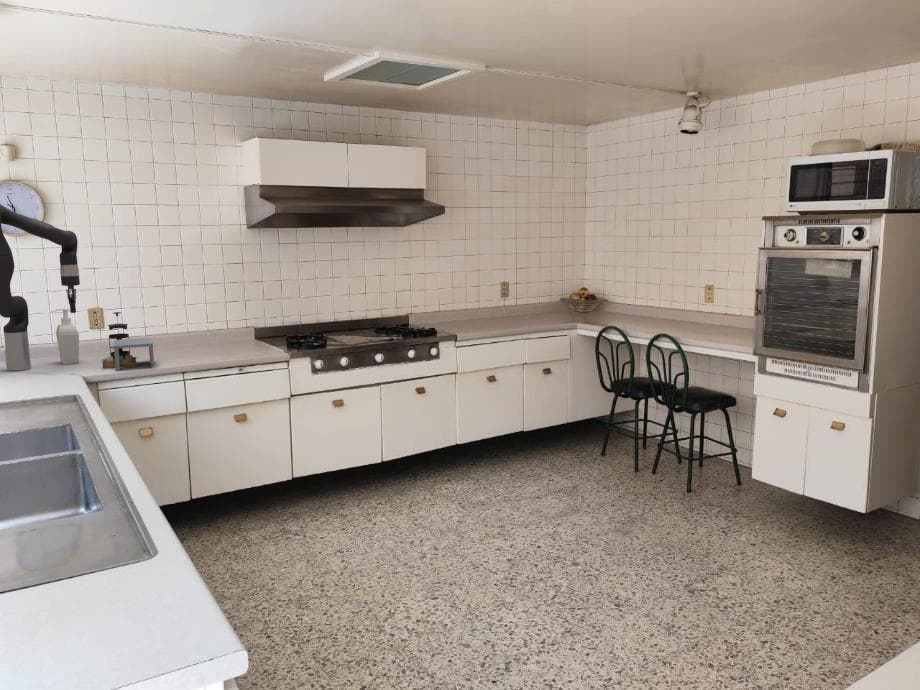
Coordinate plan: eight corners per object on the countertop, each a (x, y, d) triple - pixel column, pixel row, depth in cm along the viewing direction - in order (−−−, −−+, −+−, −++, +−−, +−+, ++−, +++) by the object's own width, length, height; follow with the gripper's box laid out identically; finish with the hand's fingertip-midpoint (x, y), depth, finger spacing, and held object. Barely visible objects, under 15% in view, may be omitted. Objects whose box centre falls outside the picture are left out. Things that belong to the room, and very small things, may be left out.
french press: (130, 360, 357) (127, 312, 353) (109, 361, 353) (105, 313, 349) (131, 356, 367) (127, 310, 364) (110, 357, 364) (107, 311, 360)
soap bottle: (54, 361, 353) (49, 308, 349) (77, 359, 359) (73, 307, 355) (57, 365, 343) (52, 310, 339) (81, 363, 349) (76, 309, 344)
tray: (136, 364, 345) (135, 354, 344) (136, 366, 340) (135, 356, 339) (103, 366, 339) (102, 356, 339) (102, 369, 334) (102, 358, 333)
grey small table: (115, 370, 330) (113, 346, 328) (116, 363, 348) (114, 340, 346) (154, 367, 336) (152, 343, 335) (152, 360, 354) (150, 337, 352)
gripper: (78, 275, 330) (81, 313, 333) (79, 273, 342) (83, 310, 345) (59, 276, 327) (63, 314, 330) (61, 274, 339) (65, 311, 342)
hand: (73, 312), depth 337 cm, fingers closed
